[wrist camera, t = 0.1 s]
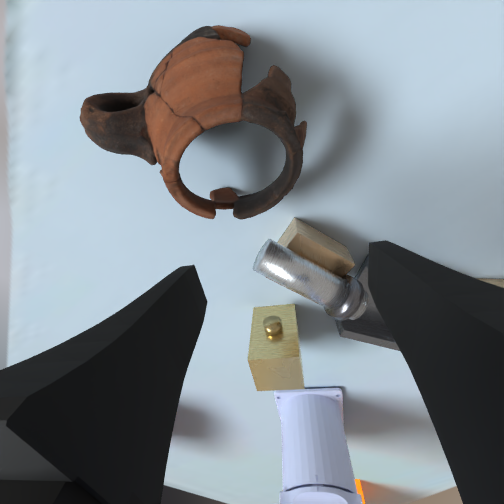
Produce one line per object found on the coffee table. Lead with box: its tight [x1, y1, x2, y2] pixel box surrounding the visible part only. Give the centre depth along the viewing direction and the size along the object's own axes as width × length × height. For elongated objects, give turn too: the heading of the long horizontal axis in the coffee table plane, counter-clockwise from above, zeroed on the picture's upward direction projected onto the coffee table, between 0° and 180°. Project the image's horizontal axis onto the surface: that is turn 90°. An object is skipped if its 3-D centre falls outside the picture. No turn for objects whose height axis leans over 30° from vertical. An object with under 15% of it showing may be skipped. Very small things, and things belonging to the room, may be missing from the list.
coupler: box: [248, 304, 305, 391], centre depth 23 cm, size 6×4×6 cm
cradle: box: [335, 254, 400, 351], centre depth 22 cm, size 6×7×3 cm
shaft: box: [253, 218, 369, 320], centre depth 19 cm, size 8×4×6 cm, turn 61°
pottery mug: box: [80, 25, 307, 219], centre depth 15 cm, size 12×10×8 cm
